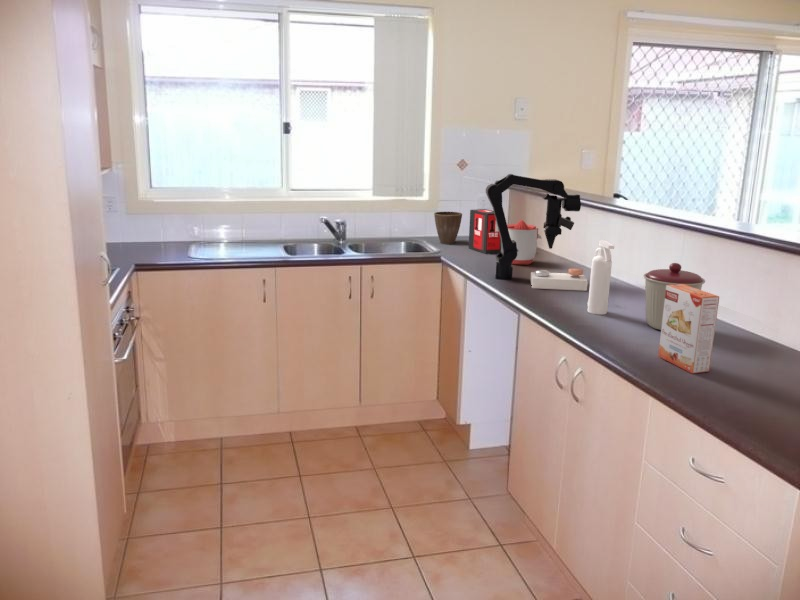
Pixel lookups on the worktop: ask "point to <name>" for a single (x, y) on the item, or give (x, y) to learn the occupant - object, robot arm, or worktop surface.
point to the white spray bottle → (600, 279)
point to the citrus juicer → (524, 241)
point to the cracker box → (688, 327)
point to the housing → (559, 281)
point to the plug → (542, 273)
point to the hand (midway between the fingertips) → (550, 248)
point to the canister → (657, 290)
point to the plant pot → (447, 226)
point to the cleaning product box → (484, 232)
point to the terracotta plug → (575, 272)
